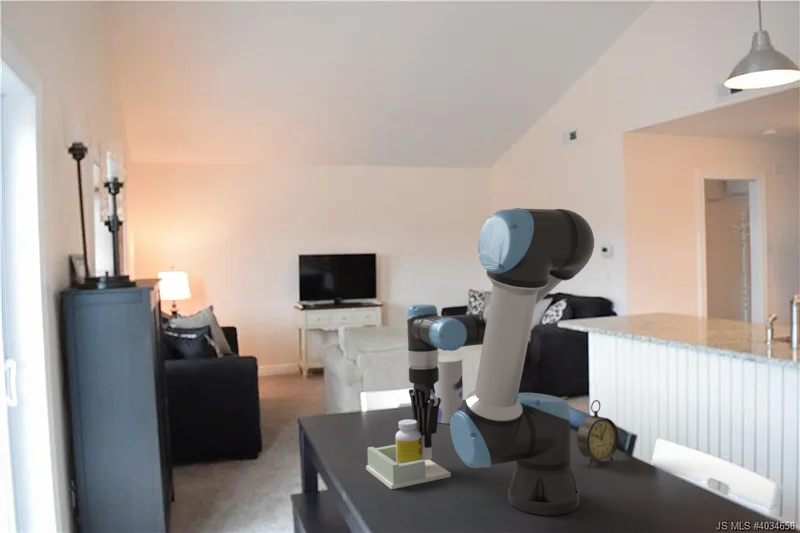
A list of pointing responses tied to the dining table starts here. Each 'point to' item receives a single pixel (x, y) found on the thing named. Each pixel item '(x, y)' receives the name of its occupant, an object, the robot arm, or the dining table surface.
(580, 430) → the alarm clock
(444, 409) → the container
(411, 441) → the pill bottle
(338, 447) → the dining table surface
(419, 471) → the dock
